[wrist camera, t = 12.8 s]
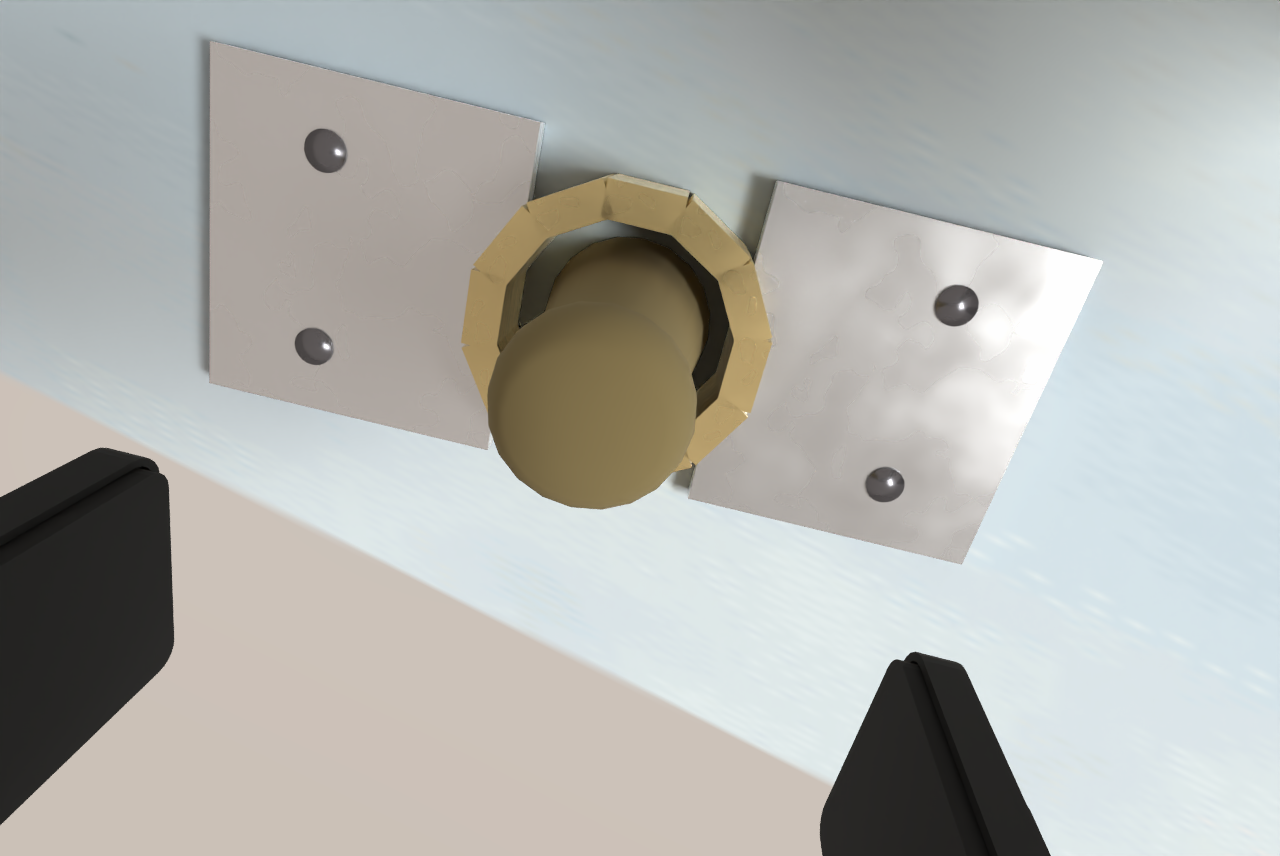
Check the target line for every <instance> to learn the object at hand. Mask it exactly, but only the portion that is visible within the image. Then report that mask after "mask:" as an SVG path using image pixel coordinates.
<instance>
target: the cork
mask: <svg viewBox="0 0 1280 856" xmlns="http://www.w3.org/2000/svg"><path fill="white" fill-rule="evenodd" d="M709 320H710V311H709V307H708V303H707V299H706V295H705V291H704V287H703V286H702V284H701V283H700V281H699V279H698V278H697V276H696V275H695V273H694V271H693V270H692V268H691V267H690V265H689V264H687V263H686V262H685V261H684V260H683V259H681V258H680V257H679V256H678V255H677V254H675V253H674V252H673V251H672V250H671V249H669V248H667V247H665V246H662V245H660V244H657V243H655V242H652V241H649V240H647V239H644V238H628V237H615V238H612V239H608V240H605V241H601V242H597V243H594V244H591V245H590V246H588V247H587V248H585V249H584V250H582V251H581V252H579V253H578V254H577V255H575V256H574V257H572V258H571V259H570V260H569V261H568V263H567V264H566V265H565V267H564V268H563V269H562V271H561V272H560V273H559V275H558V276H557V277H556V279H555V281H554V284H553V287H552V290H551V293H550V296H549V299H548V302H547V305H546V309H545V312H544V313H542V314H541V315H539V316H538V317H536V318H535V319H533V320H532V321H530V322H529V323H527V324H526V325H524V326H523V327H522V328H520V329H519V330H518V331H517V332H516V334H515V335H514V336H513V338H512V339H511V340H510V342H509V343H508V344H507V346H506V347H505V348H504V350H503V351H502V352H501V353H500V355H499V356H498V357H497V360H496V364H495V367H494V370H493V373H492V376H491V380H490V383H489V386H488V394H487V401H488V426H489V429H490V432H491V434H492V437H493V440H494V442H495V445H496V448H497V450H498V453H499V455H500V456H501V458H502V459H503V460H504V461H505V463H506V464H507V465H508V467H509V468H510V469H511V471H512V472H513V473H514V474H515V476H516V477H517V478H518V479H519V480H520V481H522V482H523V483H525V484H526V485H527V486H529V487H530V488H531V489H533V490H534V491H536V492H537V493H538V494H540V495H541V496H542V497H545V498H548V499H551V500H553V501H556V502H559V503H561V504H564V505H567V506H569V507H576V508H589V509H606V508H611V507H616V506H620V505H625V504H630V503H632V502H634V501H636V500H638V499H640V498H641V497H643V496H645V495H647V494H649V493H650V492H652V491H654V490H656V489H657V488H658V487H659V486H660V485H661V484H662V483H663V482H664V481H665V480H666V478H667V477H668V476H669V475H670V474H671V473H672V472H673V471H674V470H675V469H676V468H677V467H678V465H679V464H680V463H681V461H682V460H683V458H684V455H685V453H686V451H687V448H688V446H689V444H690V442H691V439H692V437H693V435H694V432H695V419H696V406H697V393H696V390H695V386H694V382H693V378H692V372H693V371H694V369H695V367H696V365H697V363H698V361H699V359H700V356H701V354H702V351H703V349H704V347H705V344H706V342H707V340H708V332H709Z"/></svg>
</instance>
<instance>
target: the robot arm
mask: <svg viewBox="0 0 1280 856" xmlns="http://www.w3.org/2000/svg"><path fill="white" fill-rule="evenodd" d="M173 646H174V623H173V595H172V567H171V538H170V509H169V485H168V480H167V479H166V477H165V476H164V475H162V474H160V473H159V468H158V466H157V465H156V463H155V462H154V461H152V460H151V459H149V458H145V457H141V456H137V455H133V454H129V453H125V452H121V451H117V450H113V449H109V448H98V449H95V450H92V451H90V452H88V453H86V454H84V455H82V456H80V457H78V458H76V459H74V460H72V461H70V462H69V463H67V464H65V465H63V466H61V467H59V468H57V469H55V470H53V471H51V472H49V473H47V474H45V475H43V476H41V477H39V478H37V479H35V480H33V481H31V482H29V483H27V484H26V485H24V486H21V487H20V488H18V489H16V490H14V491H12V492H10V493H8V494H6V495H4V496H2V497H0V825H1V824H2V823H3V822H4V821H5V820H6V819H7V818H8V817H9V816H10V815H11V814H12V813H13V812H14V811H15V810H16V809H17V808H18V807H20V805H22V804H23V803H24V802H25V801H26V800H27V799H28V798H29V797H30V796H31V795H32V794H33V793H34V792H35V791H36V790H37V789H38V788H39V787H40V786H41V785H42V784H43V783H44V782H45V781H46V780H47V779H49V778H50V776H52V774H54V773H55V772H56V771H57V770H58V769H59V768H60V767H61V766H62V765H63V764H64V763H65V762H66V761H67V760H68V759H69V758H70V757H71V756H72V755H73V754H74V753H75V752H76V751H78V750H79V749H80V748H81V747H82V746H83V745H84V744H85V743H86V742H87V741H88V740H89V739H90V738H91V737H92V736H93V735H94V734H95V733H96V732H97V731H98V730H99V729H100V728H101V727H102V726H103V725H104V724H105V723H106V722H107V721H109V720H110V719H111V718H112V717H113V716H114V715H115V714H116V713H117V712H118V711H119V710H120V709H121V708H122V707H123V706H124V705H125V704H126V703H127V702H128V701H129V700H130V699H131V698H132V697H133V696H135V695H136V693H138V692H139V691H140V690H141V689H142V688H143V687H144V686H145V685H146V684H147V683H148V682H149V681H150V680H151V679H152V678H153V677H154V676H155V675H156V674H157V673H158V672H159V671H160V670H161V669H162V668H163V667H164V665H165V664H166V662H167V661H168V659H169V657H170V655H171V652H172V649H173ZM820 841H821V848H822V855H823V856H1051V855H1050V853H1049V851H1048V849H1047V846H1046V844H1045V842H1044V840H1043V838H1042V835H1041V833H1040V831H1039V829H1038V827H1037V824H1036V822H1035V820H1034V818H1033V816H1032V813H1031V811H1030V809H1029V808H1028V806H1027V805H1026V802H1025V800H1024V798H1023V796H1022V794H1021V791H1020V789H1019V787H1018V785H1017V783H1016V780H1015V778H1014V776H1013V774H1012V772H1011V769H1010V767H1009V765H1008V763H1007V760H1006V758H1005V756H1004V754H1003V752H1002V749H1001V747H1000V745H999V743H998V741H997V738H996V736H995V734H994V732H993V730H992V727H991V725H990V723H989V721H988V719H987V716H986V714H985V712H984V710H983V708H982V705H981V703H980V701H979V699H978V696H977V694H976V692H975V690H974V688H973V685H972V683H971V681H970V679H969V677H968V674H967V672H966V670H965V669H964V667H963V666H962V665H961V664H959V663H957V662H954V661H950V660H946V659H942V658H938V657H934V656H930V655H926V654H922V653H918V652H912V653H910V654H909V655H908V656H907V657H906V658H905V660H904V661H901V660H894V661H892V662H891V663H890V665H889V667H888V669H887V671H886V673H885V675H884V677H883V680H882V682H881V684H880V686H879V688H878V690H877V693H876V695H875V697H874V699H873V701H872V703H871V706H870V708H869V710H868V712H867V714H866V716H865V719H864V721H863V723H862V725H861V727H860V729H859V732H858V734H857V736H856V738H855V740H854V742H853V745H852V747H851V749H850V751H849V753H848V755H847V758H846V760H845V762H844V764H843V766H842V768H841V771H840V773H839V775H838V777H837V779H836V781H835V784H834V786H833V788H832V790H831V792H830V794H829V797H828V799H827V801H826V803H825V806H824V808H823V812H822V816H821V823H820Z"/></svg>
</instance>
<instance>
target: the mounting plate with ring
mask: <svg viewBox="0 0 1280 856" xmlns="http://www.w3.org/2000/svg"><path fill="white" fill-rule="evenodd" d="M544 128H545V123H543V122H539V121H535V120H531V119H527V118H523V117H519V116H515V115H511V114H507V113H503V112H499V111H495V110H490V109H486V108H482V107H478V106H474V105H470V104H466V103H462V102H458V101H454V100H450V99H446V98H442V97H438V96H434V95H430V94H426V93H422V92H418V91H413V90H409V89H405V88H401V87H397V86H393V85H389V84H385V83H381V82H377V81H373V80H369V79H365V78H361V77H357V76H353V75H349V74H345V73H341V72H336V71H332V70H328V69H324V68H320V67H316V66H312V65H308V64H304V63H300V62H296V61H292V60H288V59H284V58H280V57H276V56H272V55H268V54H263V53H259V52H255V51H251V50H247V49H243V48H239V47H235V46H231V45H227V44H223V43H217V42H212V41H210V359H209V383H212V384H216V385H220V386H224V387H228V388H233V389H237V390H241V391H245V392H249V393H253V394H257V395H262V396H266V397H270V398H274V399H278V400H282V401H286V402H291V403H295V404H299V405H303V406H307V407H311V408H315V409H320V410H324V411H328V412H332V413H336V414H340V415H344V416H349V417H353V418H357V419H361V420H365V421H369V422H373V423H378V424H382V425H386V426H390V427H394V428H398V429H402V430H407V431H411V432H415V433H419V434H423V435H427V436H431V437H436V438H440V439H444V440H448V441H452V442H456V443H460V444H465V445H469V446H473V447H477V448H481V449H485V450H488V448H489V447H490V445H491V444H492V443H493V437H492V434H491V432H490V429H489V426H488V401H487V394H488V386H489V383H490V380H491V376H492V373H493V370H494V367H495V364H496V360H497V357H498V356H499V355H500V353H501V352H502V351H503V350H504V348H505V347H506V346H507V344H508V343H509V342H510V340H511V339H512V338H513V336H514V335H515V334H516V332H517V331H518V330H519V329H520V328H519V326H518V319H519V313H520V307H521V301H522V295H523V289H524V283H525V278H526V272H527V269H528V268H529V267H530V266H531V264H532V263H533V262H534V261H535V260H536V259H537V257H538V256H539V255H540V254H541V253H542V252H543V251H544V249H545V248H546V247H547V246H548V245H549V244H550V242H551V241H552V240H553V239H554V238H555V237H556V235H559V234H562V233H566V232H569V231H572V230H575V229H578V228H581V227H585V226H588V225H591V224H594V223H597V222H601V221H604V220H607V219H608V220H612V221H616V222H620V223H625V224H629V225H633V226H637V227H641V228H645V229H649V230H653V231H657V232H661V233H665V234H669V235H672V236H673V237H674V238H675V239H676V240H677V241H678V242H679V243H680V244H681V245H682V246H683V247H684V248H685V249H686V250H687V251H688V252H689V253H690V254H691V255H692V256H693V257H694V258H695V259H697V260H698V261H699V262H700V263H701V264H702V265H703V266H704V267H705V268H706V269H707V270H708V271H709V272H710V273H711V274H712V275H713V276H714V277H715V278H716V279H717V280H718V282H719V286H720V290H721V293H722V297H723V301H724V305H725V308H726V312H727V316H728V320H729V323H730V325H729V328H728V332H727V335H726V339H725V342H724V346H723V349H722V353H721V356H720V360H719V364H718V367H717V371H716V373H715V374H714V375H713V376H711V377H710V378H709V379H708V380H707V381H706V382H705V383H704V384H703V385H702V386H701V387H700V388H699V389H698V390H697V391H696V393H697V406H696V419H695V432H694V435H693V437H692V439H691V442H690V444H689V446H688V448H687V451H686V453H685V455H684V458H683V460H682V461H681V463H680V464H679V465H678V467H677V468H676V469H675V470H674V471H673V472H675V471H679V470H684V469H688V468H692V462H693V463H694V464H695V468H694V471H693V475H692V478H691V482H690V485H689V489H688V499H693V500H697V501H701V502H705V503H709V504H713V505H717V506H722V507H726V508H730V509H734V510H738V511H742V512H746V513H751V514H755V515H759V516H763V517H767V518H771V519H775V520H780V521H784V522H788V523H792V524H796V525H800V526H804V527H809V528H813V529H817V530H821V531H825V532H829V533H833V534H838V535H842V536H846V537H850V538H854V539H858V540H862V541H867V542H871V543H875V544H879V545H883V546H887V547H891V548H896V549H900V550H904V551H908V552H912V553H916V554H921V555H925V556H929V557H933V558H937V559H941V560H945V561H950V562H954V563H958V564H962V563H963V561H964V558H965V556H966V554H967V552H968V550H969V548H970V546H971V544H972V541H973V539H974V537H975V535H976V533H977V531H978V529H979V526H980V524H981V522H982V520H983V518H984V516H985V514H986V511H987V509H988V507H989V505H990V503H991V501H992V499H993V496H994V494H995V492H996V490H997V488H998V486H999V484H1000V481H1001V479H1002V477H1003V475H1004V473H1005V471H1006V469H1007V466H1008V464H1009V462H1010V460H1011V458H1012V456H1013V454H1014V451H1015V449H1016V447H1017V445H1018V443H1019V441H1020V439H1021V436H1022V434H1023V432H1024V430H1025V428H1026V426H1027V424H1028V421H1029V419H1030V417H1031V415H1032V413H1033V411H1034V409H1035V406H1036V404H1037V402H1038V400H1039V398H1040V396H1041V394H1042V391H1043V389H1044V387H1045V385H1046V383H1047V381H1048V379H1049V376H1050V374H1051V372H1052V370H1053V368H1054V366H1055V364H1056V362H1057V359H1058V357H1059V355H1060V353H1061V351H1062V349H1063V347H1064V344H1065V342H1066V340H1067V338H1068V336H1069V334H1070V332H1071V329H1072V327H1073V325H1074V323H1075V321H1076V319H1077V317H1078V314H1079V312H1080V310H1081V308H1082V306H1083V304H1084V302H1085V299H1086V297H1087V295H1088V293H1089V291H1090V289H1091V287H1092V284H1093V282H1094V280H1095V278H1096V276H1097V274H1098V272H1099V269H1100V267H1101V265H1102V263H1103V261H1100V260H1097V259H1094V258H1090V257H1086V256H1082V255H1078V254H1074V253H1070V252H1066V251H1062V250H1058V249H1054V248H1050V247H1046V246H1042V245H1038V244H1034V243H1030V242H1025V241H1021V240H1017V239H1013V238H1009V237H1005V236H1001V235H997V234H993V233H989V232H985V231H981V230H977V229H973V228H969V227H965V226H961V225H957V224H953V223H948V222H944V221H940V220H936V219H932V218H928V217H924V216H920V215H916V214H912V213H908V212H904V211H900V210H896V209H892V208H888V207H884V206H880V205H876V204H871V203H867V202H863V201H859V200H855V199H851V198H847V197H843V196H839V195H835V194H831V193H827V192H823V191H819V190H815V189H811V188H807V187H803V186H799V185H794V184H790V183H786V182H782V181H778V180H776V183H775V186H774V190H773V194H772V197H771V201H770V204H769V208H768V211H767V215H766V218H765V222H764V225H763V229H762V232H761V236H760V239H759V243H758V246H757V250H756V253H755V257H754V260H752V258H751V255H750V253H749V250H748V249H747V247H746V245H745V244H744V243H743V242H742V241H741V240H740V239H739V238H738V237H737V236H736V235H735V234H734V233H733V232H732V231H731V230H730V229H729V228H728V227H727V226H726V225H725V224H724V223H723V222H722V221H721V220H720V219H719V218H718V217H717V216H716V215H715V214H714V213H713V212H712V211H711V210H710V209H709V208H708V207H707V206H706V205H705V204H704V203H703V202H702V201H701V200H700V199H699V198H698V197H697V196H696V195H695V194H693V195H692V196H691V197H690V198H689V200H688V196H689V192H690V191H688V190H684V189H680V188H676V187H672V186H668V185H664V184H660V183H656V182H652V181H648V180H644V179H640V178H636V177H632V176H627V175H623V174H619V173H618V174H616V175H614V174H611V175H607V176H604V177H601V178H598V179H595V180H592V181H589V182H586V183H583V184H580V185H577V186H574V187H571V188H567V189H564V190H561V191H558V192H555V193H552V194H549V195H546V196H543V197H540V198H538V199H535V200H533V195H534V189H535V183H536V177H537V171H538V165H539V158H540V152H541V146H542V140H543V134H544Z"/></svg>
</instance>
